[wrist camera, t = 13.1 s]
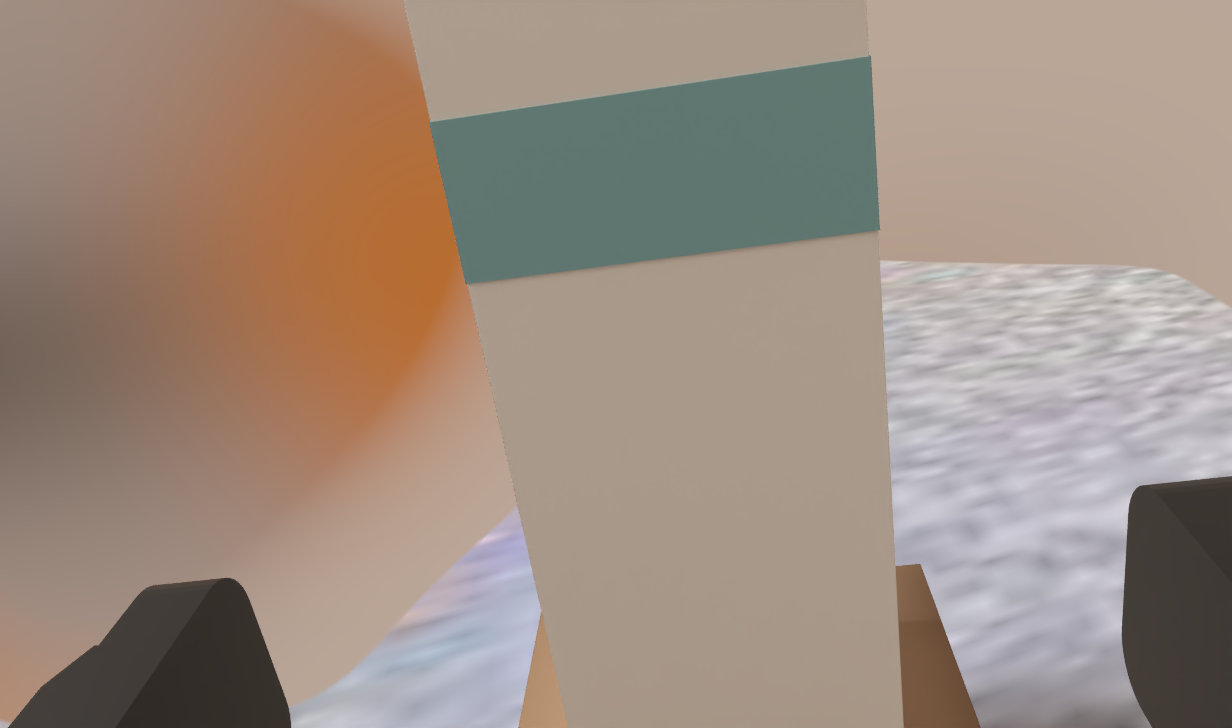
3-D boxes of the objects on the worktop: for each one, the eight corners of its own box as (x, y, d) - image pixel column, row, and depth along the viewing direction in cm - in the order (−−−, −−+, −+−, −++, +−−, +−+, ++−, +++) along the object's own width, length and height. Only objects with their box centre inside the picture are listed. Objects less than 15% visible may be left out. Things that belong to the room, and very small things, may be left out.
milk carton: (594, 850, 20) (397, -15, 13) (611, 645, 25) (479, -36, 19) (910, 830, 19) (863, -93, 13) (857, 623, 24) (805, -91, 18)
